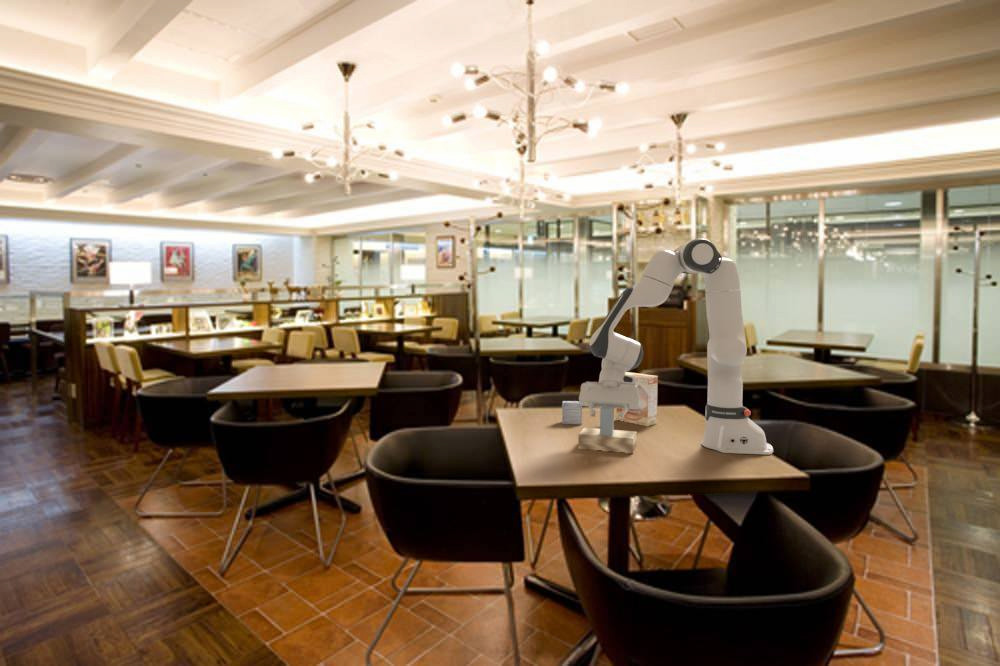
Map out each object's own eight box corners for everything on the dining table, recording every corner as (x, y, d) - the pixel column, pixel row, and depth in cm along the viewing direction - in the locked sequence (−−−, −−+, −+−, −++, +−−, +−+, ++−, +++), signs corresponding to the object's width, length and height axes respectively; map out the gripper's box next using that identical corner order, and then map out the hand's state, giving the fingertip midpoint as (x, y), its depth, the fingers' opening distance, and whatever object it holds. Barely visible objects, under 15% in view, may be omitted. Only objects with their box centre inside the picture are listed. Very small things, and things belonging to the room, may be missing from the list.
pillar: (613, 433, 193) (614, 407, 192) (612, 436, 190) (612, 409, 189) (601, 432, 194) (602, 406, 194) (599, 435, 191) (600, 408, 191)
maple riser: (636, 446, 197) (636, 431, 196) (633, 453, 187) (633, 438, 187) (584, 441, 203) (584, 427, 202) (578, 448, 193) (578, 434, 193)
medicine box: (581, 422, 232) (581, 401, 232) (582, 424, 228) (582, 403, 227) (561, 421, 233) (562, 400, 232) (562, 424, 229) (562, 402, 228)
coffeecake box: (615, 420, 236) (616, 373, 234) (625, 417, 241) (626, 371, 239) (647, 426, 225) (648, 377, 223) (657, 423, 230) (658, 375, 228)
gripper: (580, 376, 201) (574, 409, 192) (640, 379, 194) (637, 413, 186) (583, 386, 205) (577, 419, 197) (641, 390, 199) (638, 424, 190)
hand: (606, 416), depth 191 cm, fingers open, 8 cm apart
